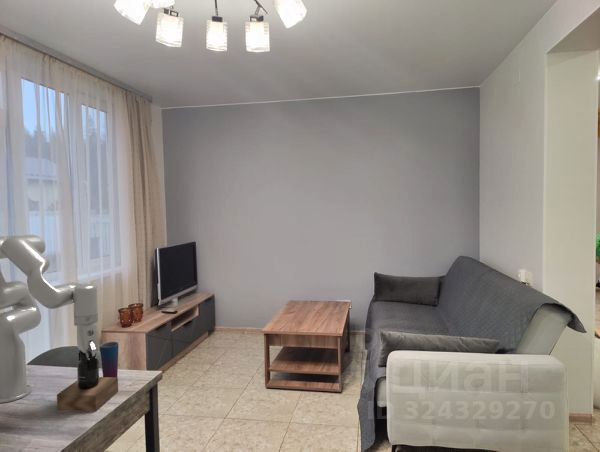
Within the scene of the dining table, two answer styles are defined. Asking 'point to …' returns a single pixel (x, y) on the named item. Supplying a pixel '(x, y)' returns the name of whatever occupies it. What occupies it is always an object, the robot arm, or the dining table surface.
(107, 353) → the cup
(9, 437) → the dining table surface
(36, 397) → the dining table surface
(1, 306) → the robot arm
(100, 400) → the walnut block
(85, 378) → the supplement bottle
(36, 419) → the dining table surface
